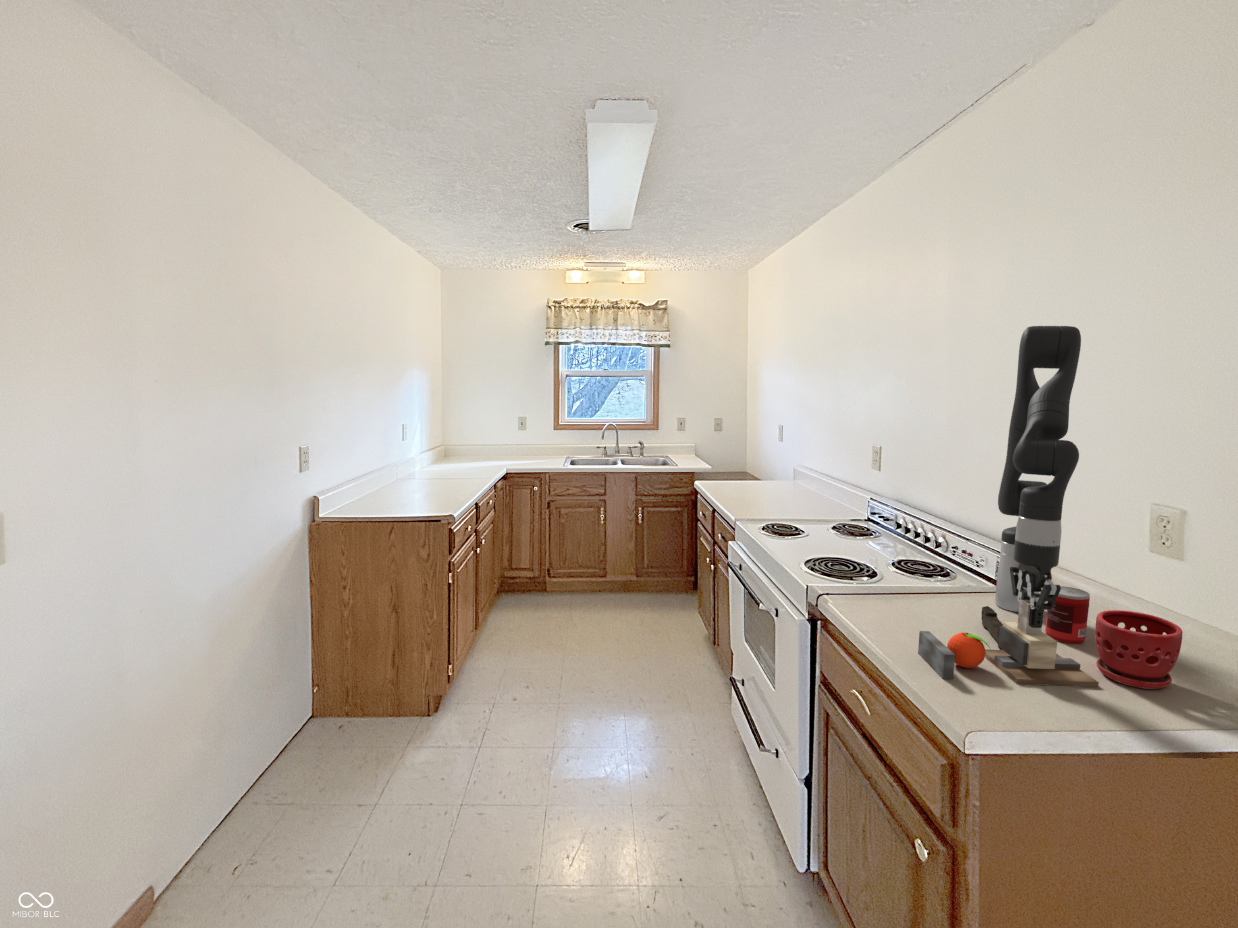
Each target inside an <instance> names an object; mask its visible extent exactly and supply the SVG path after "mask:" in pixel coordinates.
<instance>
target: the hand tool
mask: <svg viewBox="0 0 1238 928" xmlns="http://www.w3.org/2000/svg"><path fill="white" fill-rule="evenodd" d="M981 624H982V627H983V629H984V630H987V631H988V632H989V634H990V635H991V636H992V637H993V639H994V640H995V641H996V643H999V632H1000V626H1003V622H1002V621H1001V620H1000V619H999V618H998V613H997V612H995V609H993V608H991V607H990V606H987V605H986V606H982V607H981ZM997 648H998V650H1002V649H1001V648H1000V647H999V646H997Z"/></svg>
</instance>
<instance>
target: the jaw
mask: <svg viewBox="0 0 1238 928" xmlns="http://www.w3.org/2000/svg"><path fill="white" fill-rule="evenodd" d="M1036 603H1037V601H1036ZM1030 609H1031V607H1030V600H1020V604H1019V612H1018V617H1017V621H1003V622H1002V624H1003V626H1000V632H999V643H998V642H997V643H998V646H999V647H1000V648H1001V649H1002V650H1004V651H1005V652H1006V653H1008V654H1009V655H1010V656H1012V657H1013V658H1014V659H1016V660H1017V661H1018V662H1019V663H1021V664H1022V665H1025V666H1026V667H1027V668H1040V669H1055V660H1056V654H1057V649H1058V641H1056V640H1054V639H1053V638H1051V637H1050V636H1048V635H1047V634H1046V632H1044V631H1043V630H1042V628H1043V626H1042V627H1041V628H1032V627H1030V626H1029V614H1030ZM998 646H997V647H998ZM999 647H998V648H999Z"/></svg>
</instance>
